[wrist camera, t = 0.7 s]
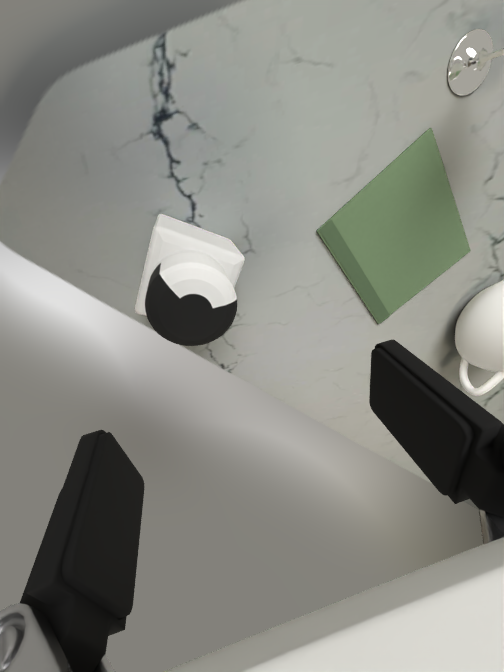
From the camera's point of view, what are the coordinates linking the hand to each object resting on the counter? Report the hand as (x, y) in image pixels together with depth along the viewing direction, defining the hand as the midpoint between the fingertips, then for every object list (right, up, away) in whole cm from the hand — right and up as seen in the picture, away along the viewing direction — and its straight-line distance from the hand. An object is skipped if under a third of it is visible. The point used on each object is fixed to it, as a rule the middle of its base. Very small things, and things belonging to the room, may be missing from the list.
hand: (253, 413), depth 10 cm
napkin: (+17, +14, +23) cm, 32 cm away
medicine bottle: (-7, +10, +19) cm, 22 cm away
